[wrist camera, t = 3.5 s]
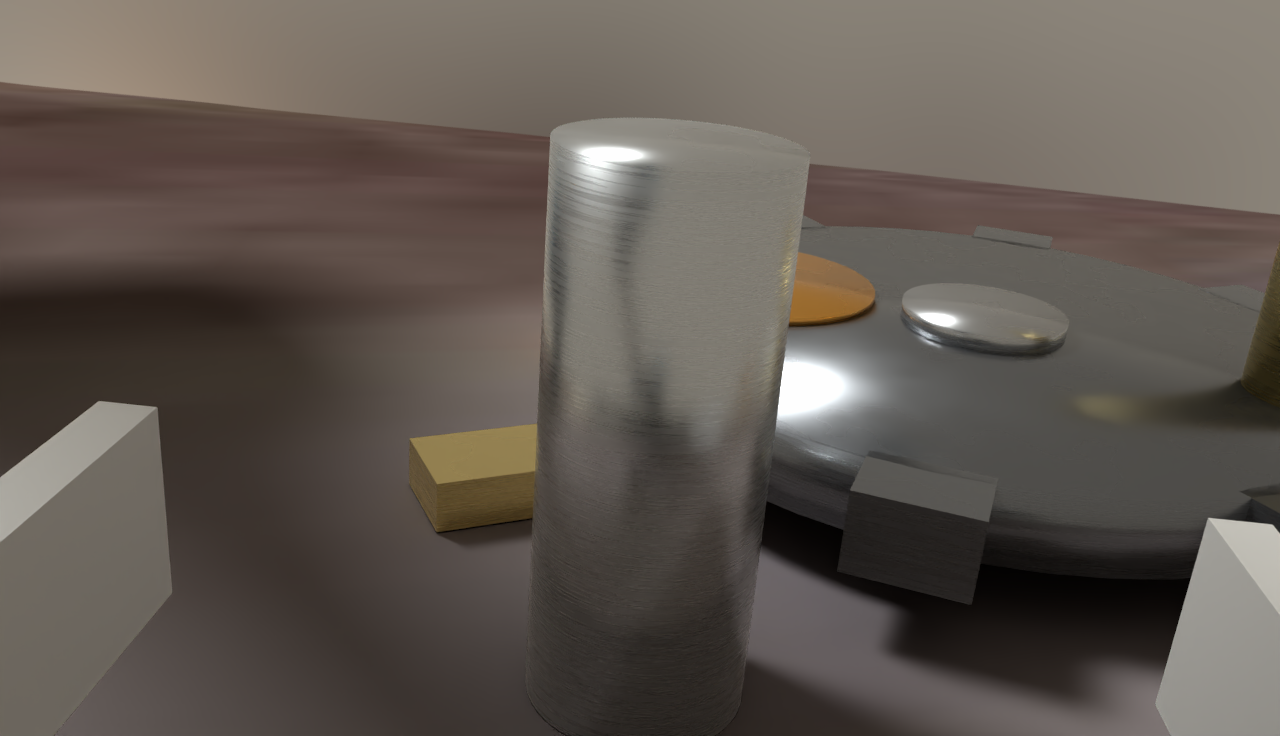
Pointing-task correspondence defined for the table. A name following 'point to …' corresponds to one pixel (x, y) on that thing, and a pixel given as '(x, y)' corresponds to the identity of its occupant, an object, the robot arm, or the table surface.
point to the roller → (656, 417)
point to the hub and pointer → (475, 476)
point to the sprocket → (1019, 408)
